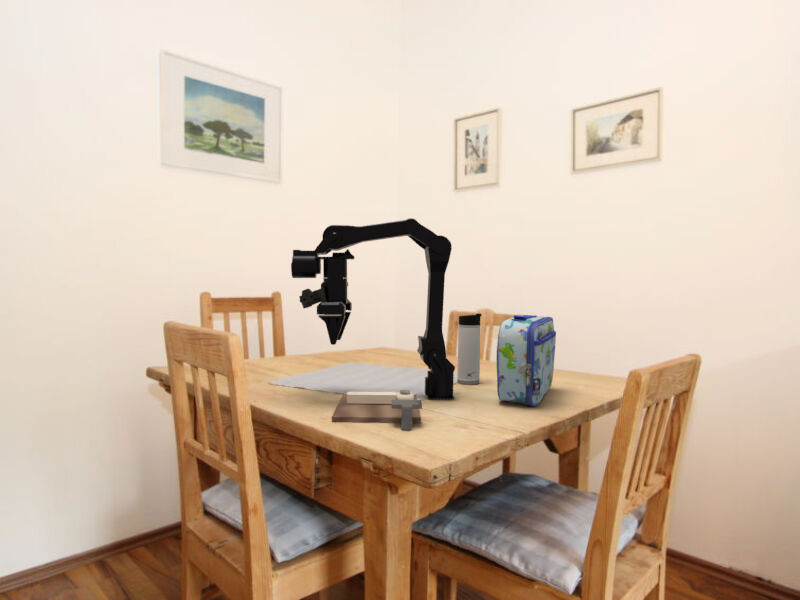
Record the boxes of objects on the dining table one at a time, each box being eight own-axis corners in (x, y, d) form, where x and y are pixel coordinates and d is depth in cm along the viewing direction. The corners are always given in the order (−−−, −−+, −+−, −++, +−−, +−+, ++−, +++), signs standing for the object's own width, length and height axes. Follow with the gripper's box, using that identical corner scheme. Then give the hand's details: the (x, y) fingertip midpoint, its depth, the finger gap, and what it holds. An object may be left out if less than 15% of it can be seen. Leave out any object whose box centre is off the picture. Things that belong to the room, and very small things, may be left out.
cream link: (413, 400, 113) (413, 391, 113) (414, 404, 109) (414, 395, 109) (348, 399, 113) (348, 391, 113) (346, 404, 109) (346, 395, 109)
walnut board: (416, 398, 120) (416, 382, 120) (420, 422, 99) (421, 403, 99) (342, 397, 120) (342, 382, 120) (331, 421, 99) (331, 402, 99)
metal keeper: (420, 421, 100) (420, 400, 100) (422, 430, 94) (422, 407, 94) (391, 421, 100) (391, 399, 100) (391, 429, 94) (391, 407, 94)
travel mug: (473, 386, 136) (475, 314, 135) (453, 383, 140) (454, 312, 139) (484, 382, 141) (485, 313, 140) (464, 379, 145) (465, 312, 144)
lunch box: (537, 411, 110) (539, 317, 109) (490, 405, 115) (492, 315, 114) (557, 390, 133) (559, 312, 132) (518, 385, 138) (519, 311, 137)
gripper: (309, 278, 129) (309, 338, 129) (293, 277, 110) (294, 347, 110) (351, 278, 129) (352, 337, 129) (343, 277, 110) (344, 347, 110)
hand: (335, 342), depth 120 cm, fingers open, 9 cm apart
